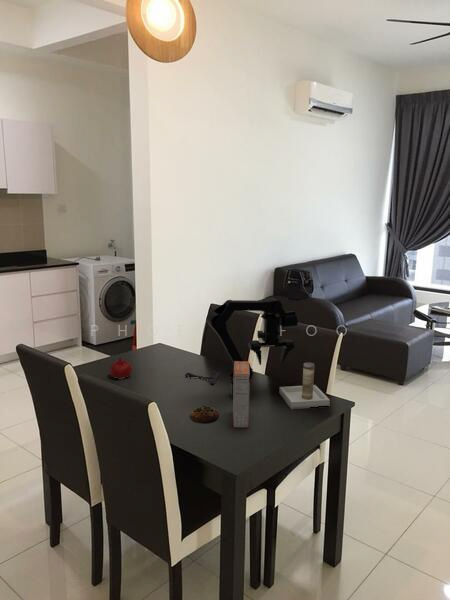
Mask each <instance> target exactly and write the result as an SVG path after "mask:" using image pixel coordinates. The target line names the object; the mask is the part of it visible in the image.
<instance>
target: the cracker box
mask: <svg viewBox="0 0 450 600" xmlns="http://www.w3.org/2000/svg"><path fill="white" fill-rule="evenodd" d="M247 361H248V360H247ZM247 361H234V369H233V371H234V375H233V400H232V425H233V426H232V427H233V429H234V428H236V429H237V428H239V429H240V428H241V429H242V428H244V429H245V428H246V429H249V424H250V423H249V421H250V420H249V419H250V418H249V417H250V384H251V383H250V380H251V379H250V372H249V363H250V361H248V362H247Z"/></svg>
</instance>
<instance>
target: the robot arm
mask: <svg viewBox="0 0 450 600" xmlns="http://www.w3.org/2000/svg"><path fill="white" fill-rule="evenodd" d="M240 311H242V312H264V313H263V314H261V316H260V318H262V319H263V320H265V327H264V331H263V330H257V333H256V334H257V335H256V336H257V339H261V341H262V342H260V341H259V340H257V339H254V340H249V341H248V343H247V347H248V348H249V350H250V351H253V352H254V353H255V355H256V357H257V358H256V359H257V360H258V364H259V366H261V365H262V350H261V349H262V348H274V347H275V348H276V347H277V348H278V347H280V349H281V352H280V365H282V364H283V363H284V361H285V359H286V357H287V356H288V354H289V353H290V352H291V351H292V350H295V348H296V345H295V344H296V343H295V342H294V341H293V340H292V339H291V338H284V339H282V340H281V341H279V338H280V334H281V332H280V327H281V328H282V329H284V328H285V329H286V328H295V327H297V326H298V322H299V321H298V316H297V313H296V311H295V310H290V311H289V310H288V311H285V309H284V308H283V303H282V302H281V301H280V300H278V299H276V298H275V297H266V298H262V299H257V300H253V299H252V300H251V299H250V300H247V299H246V300H245V299H244V300H240V299H239V300H236V299H233V300H232V299H228V300H226V301H225V302H224V303H223V304H220V306H218V307H217V308H215V309H214V310H213V311H211V312H209V313H208V314H207V315H206V318H205V320H206V323H207V324H208V326H209V327H210V328H211V329H212V330H213V332H215V334H216V335H217V336H218V338H219V341H220V342H221V344H222V345H223V347H224V349H225V351H226V353H227V355H228V357H229V358H230V360H231V362H232V368H233V371H232V372H231V373H230V374H229V375H228V378H229V380H230V393H229V396H230V399H231V401H233V375H234V361H247V362H249V361H248V360H247V359H246V358H244V357H243V358H242V357H241V355H240V352H239V351H238V349H237V347H236V345H235V343H234V342H233V340H232V338H231V336H230V334H229V332H228V326H227V323H226V322H227V321H229V320H230V318H231V316H232V314H233V313H234V312H240ZM253 371H254V369H253V368H252V366H251V363H250V362H249V372H250V380H251V379H253V377H254V376H253V375H254V372H253Z"/></svg>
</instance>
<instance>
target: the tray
mask: <svg viewBox="0 0 450 600" xmlns="http://www.w3.org/2000/svg"><path fill="white" fill-rule="evenodd" d="M278 389H279V395H280V396H281V398H282V399H283V401H284V402H285V403H286V405H287V406H288V407H289V408H290V410H305V409H311V408H310V407H318V406H329V407H330V406H331V405H330V404H331V399H330V398H329V397H328V396H327V395H326V394H325V393H324V392H323V391H322V390H321V389H320V388H319V387H318V386H317V385H316V384H313V398H312V399H311V400H306V399H303V398H302V385H293V386H279V388H278Z"/></svg>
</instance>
